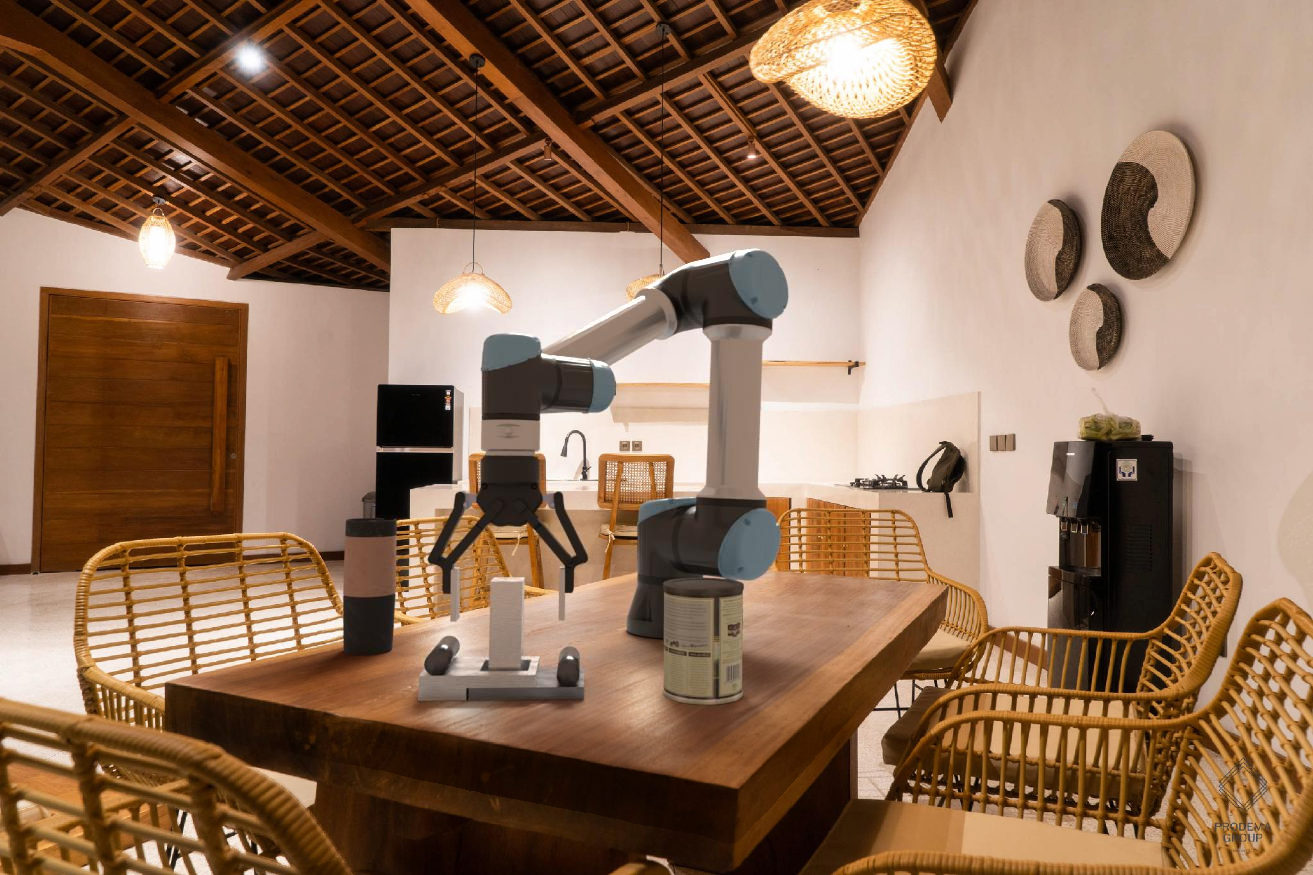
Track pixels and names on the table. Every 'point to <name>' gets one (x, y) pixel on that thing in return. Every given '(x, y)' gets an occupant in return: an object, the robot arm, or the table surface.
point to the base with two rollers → (497, 677)
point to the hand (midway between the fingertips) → (508, 619)
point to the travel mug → (369, 585)
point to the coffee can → (703, 640)
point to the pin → (506, 624)
